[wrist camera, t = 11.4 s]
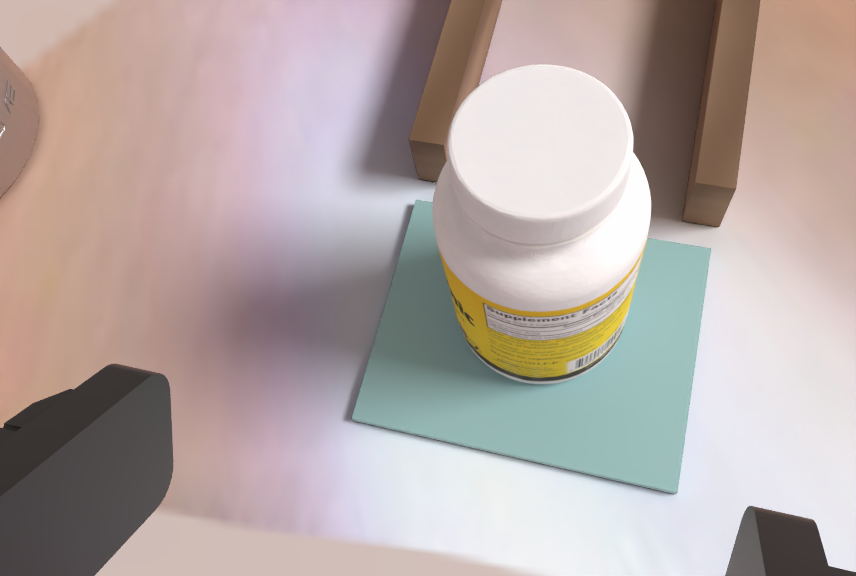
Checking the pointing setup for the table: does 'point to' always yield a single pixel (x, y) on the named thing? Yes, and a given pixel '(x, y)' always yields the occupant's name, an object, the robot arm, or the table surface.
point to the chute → (716, 119)
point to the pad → (542, 403)
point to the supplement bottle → (541, 221)
